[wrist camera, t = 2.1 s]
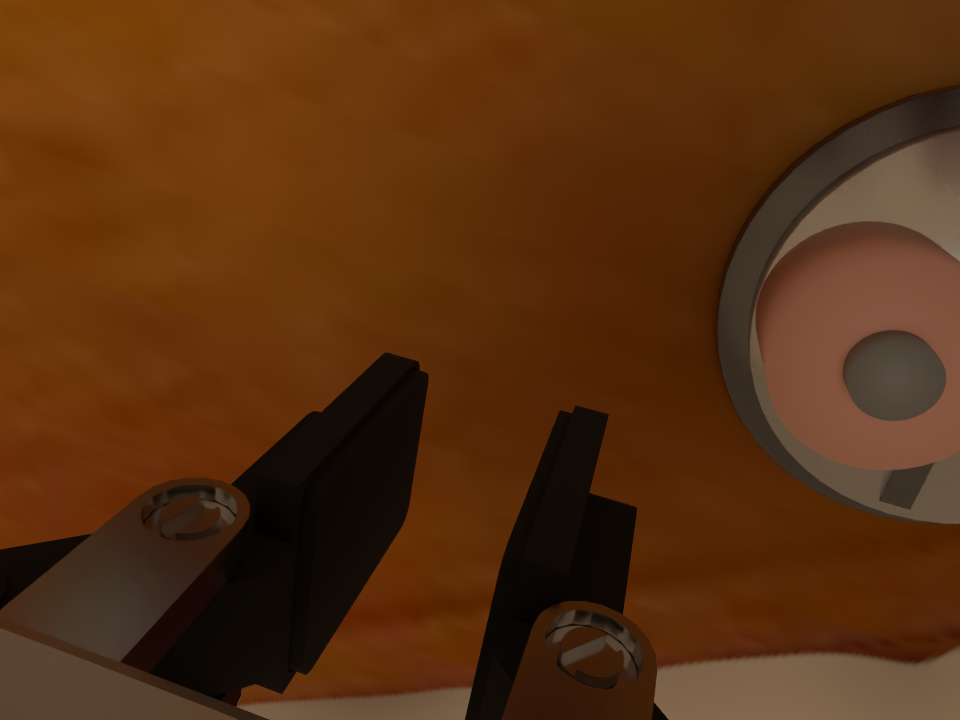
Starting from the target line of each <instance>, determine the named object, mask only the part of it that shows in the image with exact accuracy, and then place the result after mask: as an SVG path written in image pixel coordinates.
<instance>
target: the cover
mask: <svg viewBox="0 0 960 720" xmlns="http://www.w3.org/2000/svg"><path fill="white" fill-rule="evenodd" d="M755 327H756V333H757V338H758V343H759V348H760V353H761V358H762V363H763V368H764V372H765V377H766V382H767V387H768V392H769V395H770V398H771V401H772V404H773V407H774V409H775V411H776V413H777V415H778V417H779V418H780V420H781V421H782V422H783V424H784V425H785V427H786V428H787V429H788V430H789V431H790V432H791V433H792V434H793V436H794V437H795V438H796V439H798V440H799V441H800V442H801V443H803V444H804V445H805V446H806V447H808V448H809V449H811V450H813V451H814V452H816V453H817V454H819V455H821V456H823V457H825V458H828V459H830V460H832V461H835V462H838V463H841V464H844V465H847V466H852V467H857V468H862V469H871V470H899V469H909V468H914V467H919V466H924V465H927V464H930V463H934V462H937V461H940V460H942V459H945V458H947V457H949V456H952V455H954V454H956V453H958V452H960V262H959V261H958V260H957V259H956V258H954V257H953V256H952V255H951V254H949V253H948V252H947V251H945V250H944V249H943V248H942V247H940V246H939V245H938V244H937V243H935V242H934V241H933V240H931V239H930V238H928V237H926V236H925V235H923V234H921V233H920V232H917V231H915V230H913V229H910V228H908V227H904V226H901V225H897V224H893V223H887V222H879V221H862V222H851V223H846V224H841V225H837V226H834V227H831V228H828V229H825V230H822V231H820V232H818V233H816V234H814V235H811V236H810V237H808V238H806V239H805V240H803V241H801V242H800V243H798V244H797V245H796V246H795V247H793V248H792V249H791V250H789V251H788V252H787V253H786V254H785V255H784V256H783V257H782V258H781V259H780V260H779V261H778V262H777V264H776V265H775V266H774V268H773V269H772V270H771V272H770V273H769V275H768V277H767V278H766V280H765V282H764V284H763V286H762V289H761V291H760V294H759V297H758V301H757V305H756V313H755Z"/></svg>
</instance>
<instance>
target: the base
mask: <svg viewBox="0 0 960 720" xmlns="http://www.w3.org/2000/svg"><path fill="white" fill-rule="evenodd" d="M956 125H960V85H956V86H949V87H944V88H940V89H936V90H932V91H928V92H924V93H920V94H916V95H912V96H909V97H906V98H904V99H901V100H899V101H896V102H893V103H891V104H888V105H885V106H883V107H880V108H877V109H875V110H873V111H871V112H869V113H867V114H865V115H863V116H861V117H859V118H858V119H856V120H854V121H852V122H850V123H848V124H846V125H844V126H843V127H841V128H840V129H838V130H836V131H835V132H833V133H832V134H830V135H829V136H827V137H826V138H824V139H823V140H821V141H820V142H818V143H817V144H815V145H814V146H813V147H812V148H811V149H809V150H808V151H807V152H806V153H805V154H804V155H802V156H801V157H800V158H799V159H798V160H796V161H795V162H794V163H793V164H792V165H790V166H789V168H788V169H787V170H786V171H785V172H784V173H783V174H782V175H781V176H780V177H779V178H778V179H777V180H776V181H775V182H774V183H773V184H772V186H771V187H770V188H769V189H768V190H767V191H766V193H765V194H764V196H763V197H762V198H761V200H760V201H759V202H758V204H757V205H756V206H755V208H754V209H753V210H752V212H751V213H750V215H749V217H748V218H747V220H746V222H745V224H744V226H743V227H742V229H741V231H740V233H739V234H738V236H737V238H736V240H735V243H734V245H733V248H732V250H731V253H730V255H729V258H728V260H727V263H726V266H725V270H724V274H723V278H722V282H721V286H720V290H719V299H718V308H717V336H718V352H719V358H720V363H721V368H722V374H723V378H724V381H725V384H726V387H727V390H728V392H729V395H730V398H731V401H732V403H733V405H734V407H735V409H736V411H737V412H738V414H739V416H740V418H741V420H742V422H743V424H744V425H745V426H746V428H747V429H748V431H749V432H750V433H751V435H752V436H753V438H754V439H755V440H756V442H757V443H758V444H759V445H760V446H761V447H762V448H763V450H764V451H765V452H766V453H767V454H768V455H769V456H770V457H771V458H772V459H773V460H774V461H775V462H776V463H777V464H779V465H780V466H781V467H782V468H783V469H785V470H786V471H787V472H788V473H790V474H791V475H792V476H793V477H794V478H796V479H797V480H799V481H801V482H802V483H804V484H805V485H807V486H809V487H810V488H812V489H813V490H815V491H817V492H818V493H820V494H823V495H825V496H827V497H829V498H831V499H833V500H835V501H837V502H839V503H842V504H844V505H847V506H850V507H853V508H856V509H859V510H862V511H864V512H867V513H871V514H875V515H879V516H884V517H888V518H892V519H897V520H904V521H912V522H920V523H930V524H945V523H936V522H928V521H920V520H914V519H909V518H905V517H901V516H896V515H892V514H888V513H885V512H882V511H879V510H877V509H874V508H871V507H868V506H865V505H863V504H861V503H859V502H856V501H854V500H852V499H850V498H848V497H846V496H844V495H842V494H840V493H838V492H837V491H835V490H834V489H832V488H830V487H829V486H827V485H826V484H824V483H822V482H821V481H820V480H818V479H817V478H816V477H815V476H813V475H812V474H811V473H810V472H809V471H807V470H806V469H805V468H804V467H802V466H801V465H800V464H799V462H798V461H797V460H796V459H795V458H794V457H793V456H792V455H791V454H790V453H789V452H788V451H787V450H786V449H785V447H784V446H783V444H782V443H781V442H780V440H779V439H778V437H777V436H776V434H775V433H774V432H773V430H772V428H771V426H770V424H769V423H768V421H767V419H766V417H765V415H764V413H763V411H762V408H761V405H760V402H759V400H758V397H757V394H756V391H755V387H754V382H753V376H752V370H751V364H750V358H749V353H748V325H749V316H750V308H751V303H752V300H753V296H754V292H755V289H756V285H757V282H758V279H759V277H760V275H761V272H762V270H763V268H764V265H765V263H766V261H767V258H768V257H769V255H770V253H771V252H772V250H773V248H774V247H775V245H776V243H777V242H778V240H779V238H780V236H781V235H782V234H783V232H784V231H785V230H786V229H787V227H788V226H789V225H790V223H791V222H792V221H793V220H794V218H795V217H796V216H797V214H798V213H799V212H800V211H801V210H802V209H803V208H804V207H805V206H806V205H807V204H808V203H809V202H810V201H811V200H812V199H813V198H814V197H815V196H816V195H817V194H818V193H819V192H820V191H822V190H823V189H824V188H825V187H827V186H828V185H829V184H830V183H832V182H833V181H834V180H835V179H837V178H838V177H839V176H840V175H842V174H843V173H845V172H846V171H848V170H849V169H851V168H853V167H854V166H856V165H857V164H859V163H861V162H862V161H864V160H865V159H867V158H868V157H870V156H872V155H875V154H877V153H879V152H881V151H883V150H885V149H887V148H889V147H891V146H893V145H895V144H897V143H900V142H902V141H905V140H908V139H911V138H914V137H916V136H919V135H922V134H925V133H928V132H931V131H935V130H939V129H944V128H948V127H952V126H956Z"/></svg>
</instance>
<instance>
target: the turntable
mask: <svg viewBox="0 0 960 720" xmlns="http://www.w3.org/2000/svg"><path fill="white" fill-rule="evenodd" d="M862 221H879V222H887V223H893V224H897V225H901V226H904V227H908V228H910V229H913V230H915V231H917V232H920V233H921V234H923V235H925V236H926V237H928V238H930V239H931V240H933V241H934V242H935V243H937V244H938V245H939V246H940V247H942V248H943V249H944V250H945V251H947V252H948V253H949V254H951V255H952V256H953V257H954V258H956V259H957V260H958V261H959V262H960V125H956V126H952V127H948V128H944V129H939V130H935V131H931V132H928V133H925V134H922V135H919V136H916V137H914V138H911V139H908V140H905V141H902V142H900V143H897V144H895V145H893V146H891V147H889V148H887V149H885V150H883V151H881V152H879V153H877V154H875V155H872V156H870V157H868V158H867V159H865V160H864V161H862V162H861V163H859V164H857V165H856V166H854V167H853V168H851V169H849V170H848V171H846V172H845V173H843V174H842V175H840V176H839V177H838V178H837V179H835V180H834V181H833V182H832V183H830V184H829V185H828V186H827V187H825V188H824V189H823V190H822V191H820V192H819V193H818V194H817V195H816V196H815V197H814V198H813V199H812V200H811V201H810V202H809V203H808V204H807V205H806V206H805V207H804V208H803V209H802V210H801V211H800V212H799V213H798V214H797V216H796V217H795V218H794V220H793V221H792V222H791V223H790V225H789V226H788V227H787V229H786V230H785V231H784V232H783V234H782V235H781V236H780V238H779V240H778V242H777V243H776V245H775V247H774V248H773V250H772V252H771V253H770V255H769V257H768V258H767V261H766V263H765V265H764V268H763V270H762V272H761V275H760V277H759V279H758V282H757V285H756V289H755V292H754V296H753V300H752V303H751V308H750V316H749V325H748V353H749V358H750V364H751V370H752V376H753V382H754V387H755V391H756V394H757V397H758V400H759V402H760V405H761V408H762V411H763V413H764V415H765V417H766V419H767V421H768V423H769V424H770V426H771V428H772V430H773V432H774V433H775V434H776V436H777V437H778V439H779V440H780V442H781V443H782V444H783V446H784V447H785V449H786V450H787V451H788V452H789V453H790V454H791V455H792V456H793V457H794V458H795V459H796V460H797V461H798V462H799V464H800V465H801V466H802V467H804V468H805V469H806V470H807V471H809V472H810V473H811V474H812V475H813V476H815V477H816V478H817V479H818V480H820V481H821V482H822V483H824V484H826V485H827V486H829V487H830V488H832V489H834V490H835V491H837V492H838V493H840V494H842V495H844V496H846V497H848V498H850V499H852V500H854V501H856V502H859V503H861V504H863V505H865V506H868V507H871V508H874V509H877V510H879V511H882V512H885V513H888V514H892V515H896V516H901V517H905V518H909V519H914V520H920V521H928V522H936V523H945V524H960V452H958V453H956V454H954V455H952V456H949V457H947V458H945V459H942V460H940V461H937V462H934V463H930V464H927V465H924V466H919V467H914V468H909V469H899V470H871V469H862V468H857V467H852V466H847V465H844V464H841V463H838V462H835V461H832V460H830V459H828V458H825V457H823V456H821V455H819V454H817V453H816V452H814V451H813V450H811V449H809V448H808V447H806V446H805V445H804V444H803V443H801V442H800V441H799V440H798V439H796V438H795V437H794V436H793V434H792V433H791V432H790V431H789V430H788V429H787V428H786V427H785V425H784V424H783V422H782V421H781V420H780V418H779V417H778V415H777V413H776V411H775V409H774V407H773V404H772V401H771V398H770V395H769V392H768V387H767V382H766V377H765V372H764V368H763V363H762V358H761V353H760V348H759V343H758V338H757V333H756V327H755V313H756V305H757V301H758V297H759V294H760V291H761V289H762V286H763V284H764V282H765V280H766V278H767V277H768V275H769V273H770V272H771V270H772V269H773V268H774V266H775V265H776V264H777V262H778V261H779V260H780V259H781V258H782V257H783V256H784V255H785V254H786V253H787V252H788V251H789V250H791V249H792V248H793V247H795V246H796V245H797V244H798V243H800V242H801V241H803V240H805V239H806V238H808V237H810V236H811V235H814V234H816V233H818V232H820V231H822V230H825V229H828V228H831V227H834V226H837V225H841V224H846V223H851V222H862Z"/></svg>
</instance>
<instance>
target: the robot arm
mask: <svg viewBox="0 0 960 720" xmlns="http://www.w3.org/2000/svg"><path fill="white" fill-rule="evenodd" d="M428 379H429V378H428V373H426V372H422V371H420V366H419V362H418V361H415V360H411V359H408V358H404V357H400V356H397V355H393V354H390V353H384V354H383V355H382V356H381V357H380V358H379V359H377V360H376V361H375V362H374V363H373V364H372V365H371V366H370V367H369V368H368V369H367V370H366V371H365V372H364V373H363V374H362V375H360V376H359V377H358V378H357V379H356V380H355V381H354V382H353V383H352V384H351V385H350V386H349V387H348V388H347V389H346V390H345V391H343V392H342V393H341V394H340V395H339V396H338V397H337V398H336V399H335V400H334V401H333V402H332V403H331V404H330V405H329V406H328V407H326V408H325V409H324V410H323V411H322V412H317V411H313V412H311V413H309V414H308V415H306V416H305V417H304V418H303V419H302V420H301V421H300V422H299V423H298V424H297V425H296V426H294V427H293V428H292V429H291V430H290V431H289V432H288V433H287V434H286V435H285V436H283V437H282V438H281V439H280V440H279V441H278V442H277V443H276V444H275V445H274V446H273V447H271V448H270V449H269V450H268V451H267V452H266V453H265V454H264V455H263V456H262V457H260V458H259V459H258V460H257V461H256V462H255V463H254V464H253V465H252V466H251V467H250V468H248V469H247V470H246V471H245V472H244V473H243V474H242V475H241V476H240V477H239V478H237V479H236V480H235V481H234V482H233V483H232V484H231V485H230V484H228V483H226V482H223V481H220V480H215V479H210V478H183V479H177V480H170V481H167V482H164V483H162V484H159V485H156V486H153V487H152V488H150V489H148V490H147V491H145V492H144V493H142V494H140V495H139V496H138V497H137V498H135V499H134V500H133V501H132V502H130V503H129V504H128V505H127V506H126V507H124V508H123V509H122V510H121V511H120V512H118V513H117V514H116V515H115V516H114V517H112V518H111V519H110V520H109V521H107V522H106V523H105V524H104V525H103V526H101V527H100V528H99V529H98V530H97V531H95V532H94V533H93V534H88V535H82V536H76V537H70V538H65V539H59V540H53V541H47V542H42V543H36V544H30V545H24V546H19V547H13V548H7V549H1V550H0V720H269V719H266V718H263V717H261V716H258V715H256V714H253V713H251V712H248V711H245V710H243V709H240V708H238V707H236V706H237V704H238V702H239V700H240V698H241V695H242V688H244V687H247V686H250V685H254V684H257V685H260V686H262V687H265V688H267V689H270V690H273V691H275V692H278V693H281V694H282V693H283V692H284V690H285V689H286V687H287V686H288V684H289V683H290V681H291V680H292V678H293V677H294V675H295V673H296V672H299V673H302V674H308V673H309V672H310V671H311V669H312V668H313V666H314V665H315V663H316V662H317V660H318V658H319V657H320V655H321V654H322V652H323V651H324V649H325V647H326V646H327V644H328V643H329V641H330V639H331V638H332V636H333V635H334V633H335V632H336V630H337V628H338V627H339V625H340V624H341V622H342V621H343V619H344V617H345V616H346V614H347V613H348V611H349V609H350V608H351V606H352V605H353V603H354V602H355V600H356V598H357V597H358V595H359V594H360V592H361V591H362V589H363V587H364V586H365V584H366V583H367V581H368V579H369V578H370V576H371V575H372V573H373V572H374V570H375V568H376V567H377V565H378V564H379V562H380V560H381V559H382V557H383V556H384V554H385V553H386V551H387V549H388V548H389V546H390V545H391V543H392V542H393V540H394V538H395V537H396V535H397V534H398V532H399V530H400V529H401V527H402V525H403V523H404V521H405V518H406V515H407V512H408V508H409V502H410V496H411V489H412V483H413V477H414V470H415V464H416V457H417V451H418V445H419V438H420V432H421V425H422V419H423V413H424V406H425V400H426V393H427V387H428ZM608 416H609V415H608V414H605V413H601V412H597V411H594V410H590V409H587V408H583V407H580V406H576V405H575V408H574V411H573V414H571V413H568V412H564V411H561V410H560V411H559V414H558V416H557V419H556V421H555V424H554V427H553V429H552V432H551V434H550V437H549V439H548V442H547V444H546V447H545V449H544V452H543V454H542V457H541V459H540V462H539V465H538V467H537V470H536V472H535V475H534V477H533V480H532V482H531V485H530V487H529V490H528V492H527V495H526V498H525V500H524V503H523V505H522V508H521V510H520V513H519V515H518V518H517V520H516V523H515V525H514V528H513V531H512V533H511V536H510V538H509V541H508V544H507V547H506V550H505V553H504V556H503V560H502V563H501V567H500V570H499V574H498V579H497V583H496V587H495V592H494V596H493V600H492V605H491V609H490V613H489V618H488V622H487V626H486V631H485V635H484V639H483V644H482V648H481V652H480V657H479V661H478V665H477V670H476V674H475V678H474V683H473V687H472V691H471V696H470V700H469V704H468V709H467V713H466V717H465V720H668V719H667V717H666V716H665V715H664V714H663V712H662V711H661V710H660V709H659V708H658V706H656V704H655V703H654V694H655V686H656V676H657V663H656V654H655V652H654V650H653V648H652V646H651V644H650V641H649V639H648V638H647V637H646V636H645V635H644V633H643V632H642V631H641V630H640V629H639V628H638V626H637V625H636V624H634V623H633V622H632V621H630V620H629V619H628V618H626V617H625V616H623V609H624V601H625V594H626V587H627V580H628V572H629V565H630V558H631V550H632V543H633V536H634V529H635V521H636V514H637V508H636V507H634V506H631V505H628V504H624V503H621V502H618V501H614V500H611V499H608V498H604V497H601V496H598V495H594V494H591V493H589V491H590V487H591V483H592V479H593V475H594V471H595V467H596V463H597V459H598V455H599V451H600V447H601V443H602V439H603V436H604V432H605V428H606V424H607V420H608Z"/></svg>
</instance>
